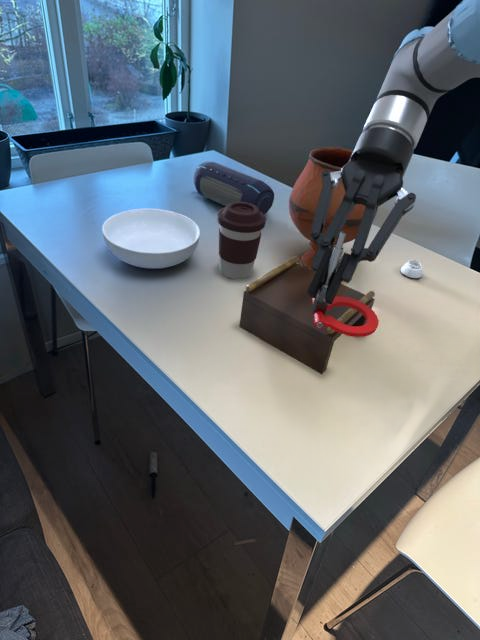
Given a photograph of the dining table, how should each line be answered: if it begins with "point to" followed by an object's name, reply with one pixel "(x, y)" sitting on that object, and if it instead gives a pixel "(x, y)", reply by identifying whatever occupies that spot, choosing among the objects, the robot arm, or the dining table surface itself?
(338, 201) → the goblet
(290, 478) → the dining table surface
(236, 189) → the portable speaker
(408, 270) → the white jar
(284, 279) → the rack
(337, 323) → the tow hook
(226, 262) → the coffee cup
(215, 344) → the dining table surface
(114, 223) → the serving bowl
